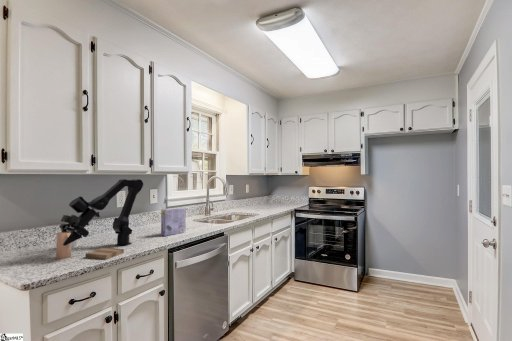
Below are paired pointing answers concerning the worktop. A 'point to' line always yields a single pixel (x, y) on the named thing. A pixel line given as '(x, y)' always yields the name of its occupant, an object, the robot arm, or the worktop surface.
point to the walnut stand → (104, 253)
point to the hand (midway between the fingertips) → (60, 244)
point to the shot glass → (74, 244)
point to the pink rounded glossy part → (62, 246)
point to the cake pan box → (173, 221)
